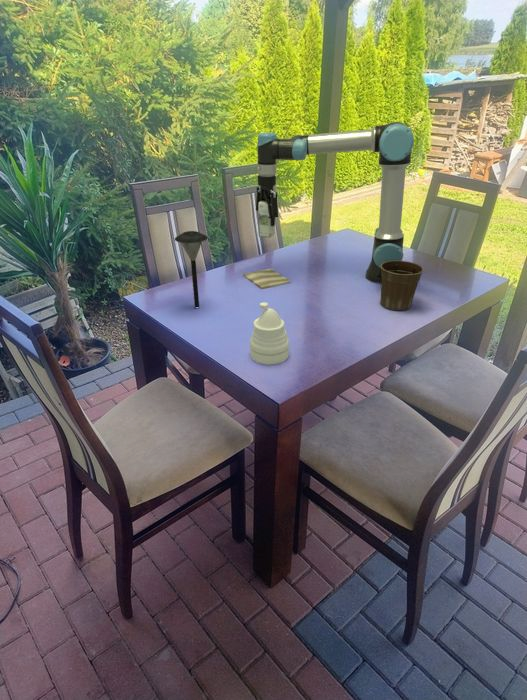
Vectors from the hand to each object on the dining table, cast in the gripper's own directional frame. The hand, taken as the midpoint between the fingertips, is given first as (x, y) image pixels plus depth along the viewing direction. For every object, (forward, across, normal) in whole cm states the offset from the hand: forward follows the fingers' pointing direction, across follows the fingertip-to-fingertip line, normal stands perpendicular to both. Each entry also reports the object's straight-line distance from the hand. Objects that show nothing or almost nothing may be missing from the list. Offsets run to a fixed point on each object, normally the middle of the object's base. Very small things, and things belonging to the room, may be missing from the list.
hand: (266, 230), depth 192 cm
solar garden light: (+23, +13, -39) cm, 47 cm away
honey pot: (+23, +58, -31) cm, 70 cm away
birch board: (+23, 0, 0) cm, 23 cm away
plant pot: (+23, +49, +33) cm, 63 cm away
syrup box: (+2, 0, 0) cm, 2 cm away
